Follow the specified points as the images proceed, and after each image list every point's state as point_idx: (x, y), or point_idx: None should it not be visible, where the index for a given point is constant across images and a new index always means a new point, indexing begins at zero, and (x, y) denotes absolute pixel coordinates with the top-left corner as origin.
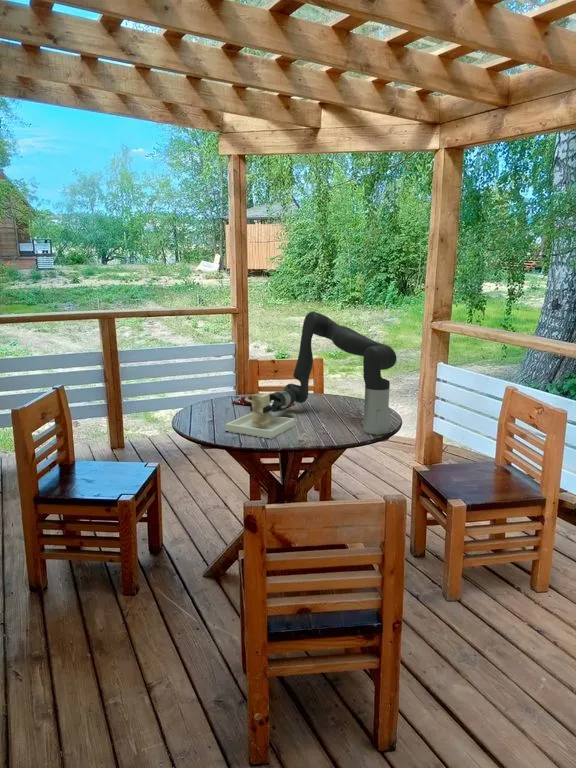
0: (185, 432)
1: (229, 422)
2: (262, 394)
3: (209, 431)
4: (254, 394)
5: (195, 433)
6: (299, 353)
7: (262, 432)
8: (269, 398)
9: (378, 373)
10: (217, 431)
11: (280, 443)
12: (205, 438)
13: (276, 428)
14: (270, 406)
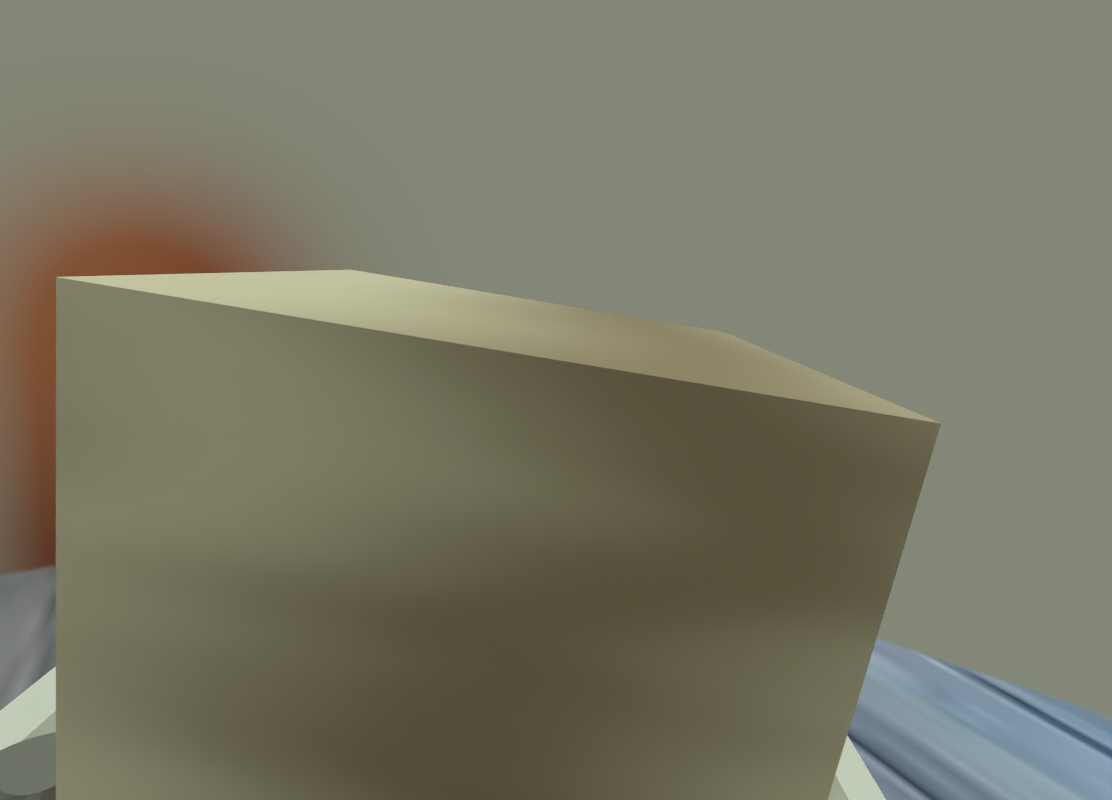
0: (1034, 691)
1: (879, 794)
2: (490, 318)
3: (944, 766)
4: (760, 348)
5: (950, 687)
6: None
7: None
8: (67, 545)
9: None
10: (888, 790)
11: (21, 619)
12: None
13: (2, 711)
14: (42, 764)
